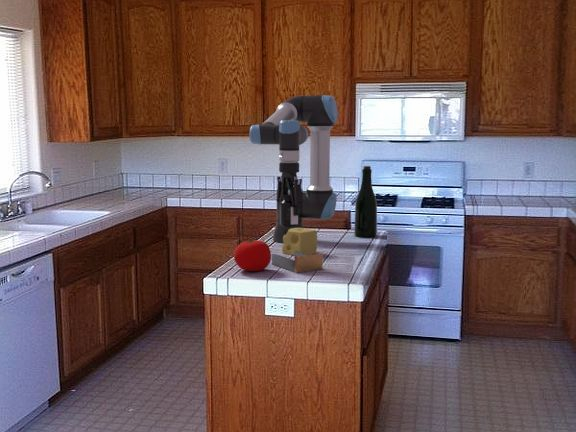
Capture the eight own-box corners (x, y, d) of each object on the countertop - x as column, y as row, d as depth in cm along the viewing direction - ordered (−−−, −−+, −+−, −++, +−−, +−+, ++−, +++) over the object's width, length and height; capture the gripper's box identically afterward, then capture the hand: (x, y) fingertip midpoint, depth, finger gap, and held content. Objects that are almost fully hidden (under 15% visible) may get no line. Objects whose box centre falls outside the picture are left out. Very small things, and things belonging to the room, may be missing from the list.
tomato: (274, 273, 246) (274, 242, 244) (236, 275, 243) (235, 243, 241) (267, 266, 258) (267, 236, 256) (231, 267, 255) (231, 237, 253)
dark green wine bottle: (380, 237, 318) (381, 166, 313) (358, 238, 316) (360, 167, 311) (372, 233, 328) (373, 165, 323) (351, 234, 326) (352, 165, 321)
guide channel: (271, 264, 260) (271, 248, 260) (297, 261, 267) (297, 245, 266) (296, 273, 246) (296, 256, 245) (322, 269, 252) (322, 253, 251)
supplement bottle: (277, 224, 261) (277, 193, 259) (293, 223, 263) (293, 192, 261) (284, 227, 254) (284, 195, 253) (300, 226, 257) (301, 194, 255)
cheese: (281, 253, 281) (281, 229, 280) (299, 250, 289) (299, 226, 287) (300, 257, 274) (300, 232, 273) (318, 253, 282) (318, 229, 280)
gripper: (267, 160, 262) (267, 220, 265) (295, 163, 245) (294, 227, 248) (283, 160, 266) (283, 218, 269) (312, 163, 249) (311, 225, 252)
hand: (288, 222), depth 259 cm, fingers closed on supplement bottle, 7 cm apart
